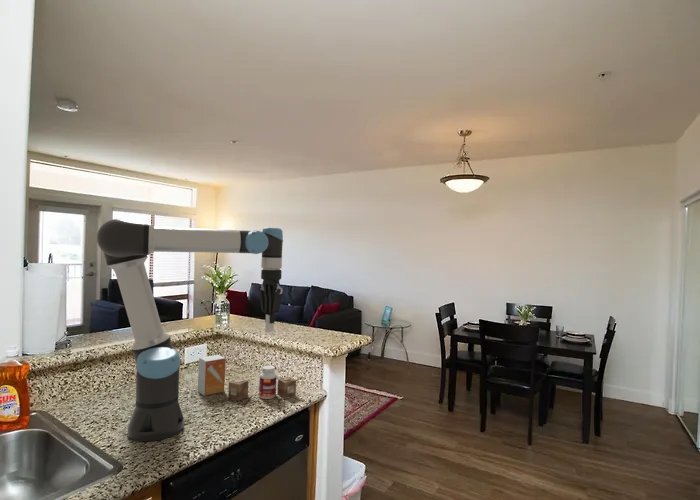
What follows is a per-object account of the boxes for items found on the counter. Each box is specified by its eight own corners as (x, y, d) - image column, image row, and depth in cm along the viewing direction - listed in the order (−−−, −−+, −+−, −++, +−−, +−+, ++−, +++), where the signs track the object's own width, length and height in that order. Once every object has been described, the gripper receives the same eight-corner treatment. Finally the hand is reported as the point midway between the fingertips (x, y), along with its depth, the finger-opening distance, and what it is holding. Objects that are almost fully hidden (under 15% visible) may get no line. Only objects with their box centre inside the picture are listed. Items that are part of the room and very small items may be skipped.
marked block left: (238, 401, 143) (239, 384, 143) (227, 398, 145) (228, 381, 145) (248, 396, 147) (248, 379, 147) (237, 394, 149) (238, 377, 149)
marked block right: (284, 398, 146) (285, 382, 146) (277, 394, 150) (278, 378, 150) (296, 396, 149) (296, 379, 149) (288, 392, 153) (289, 376, 153)
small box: (204, 396, 146) (205, 361, 146) (197, 391, 150) (198, 357, 150) (224, 391, 151) (226, 357, 151) (217, 387, 156) (218, 354, 156)
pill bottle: (262, 400, 143) (263, 370, 143) (256, 395, 149) (257, 366, 149) (278, 397, 147) (279, 368, 147) (272, 392, 152) (273, 364, 152)
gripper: (290, 269, 146) (288, 333, 146) (268, 267, 155) (266, 327, 155) (274, 270, 141) (272, 336, 141) (252, 268, 149) (250, 330, 149)
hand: (269, 331), depth 148 cm, fingers closed
